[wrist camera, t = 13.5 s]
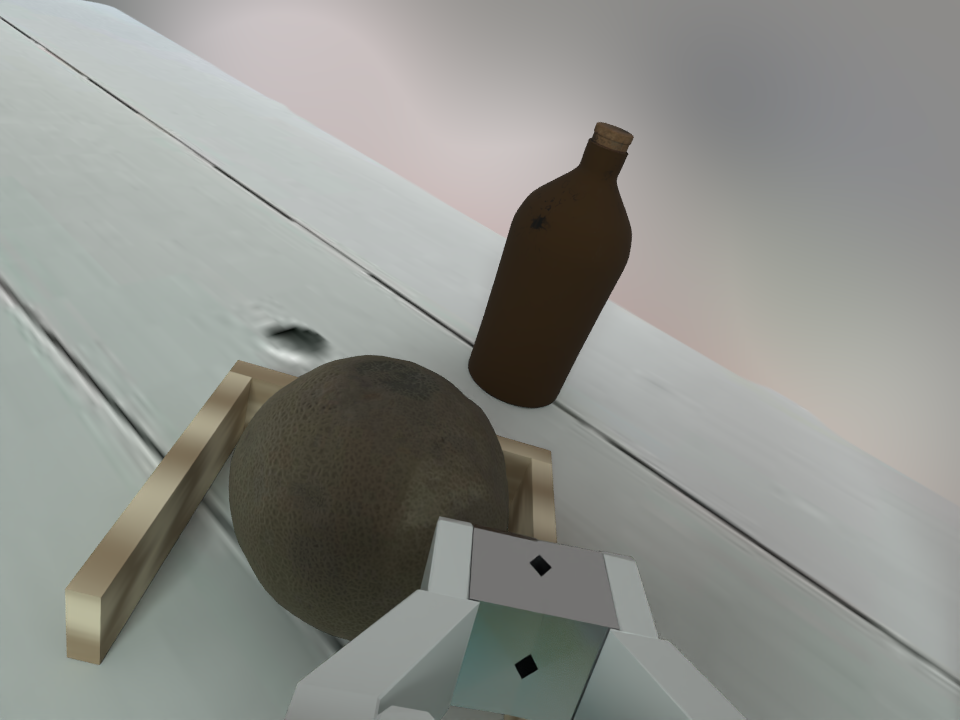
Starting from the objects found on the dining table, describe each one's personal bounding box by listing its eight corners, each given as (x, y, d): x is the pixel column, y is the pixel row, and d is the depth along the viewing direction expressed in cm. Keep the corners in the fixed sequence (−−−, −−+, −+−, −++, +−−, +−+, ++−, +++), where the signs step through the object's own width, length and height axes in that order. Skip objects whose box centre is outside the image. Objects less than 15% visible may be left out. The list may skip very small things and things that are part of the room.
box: (531, 765, 32) (568, 712, 30) (66, 657, 30) (65, 588, 27) (527, 499, 49) (550, 450, 47) (230, 415, 47) (238, 359, 44)
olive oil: (549, 428, 58) (674, 163, 46) (445, 379, 60) (539, 109, 47) (571, 378, 67) (681, 145, 55) (481, 337, 69) (567, 101, 56)
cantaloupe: (397, 485, 46) (457, 307, 39) (505, 654, 37) (609, 466, 30) (187, 530, 38) (212, 313, 30) (263, 764, 29) (324, 538, 21)
